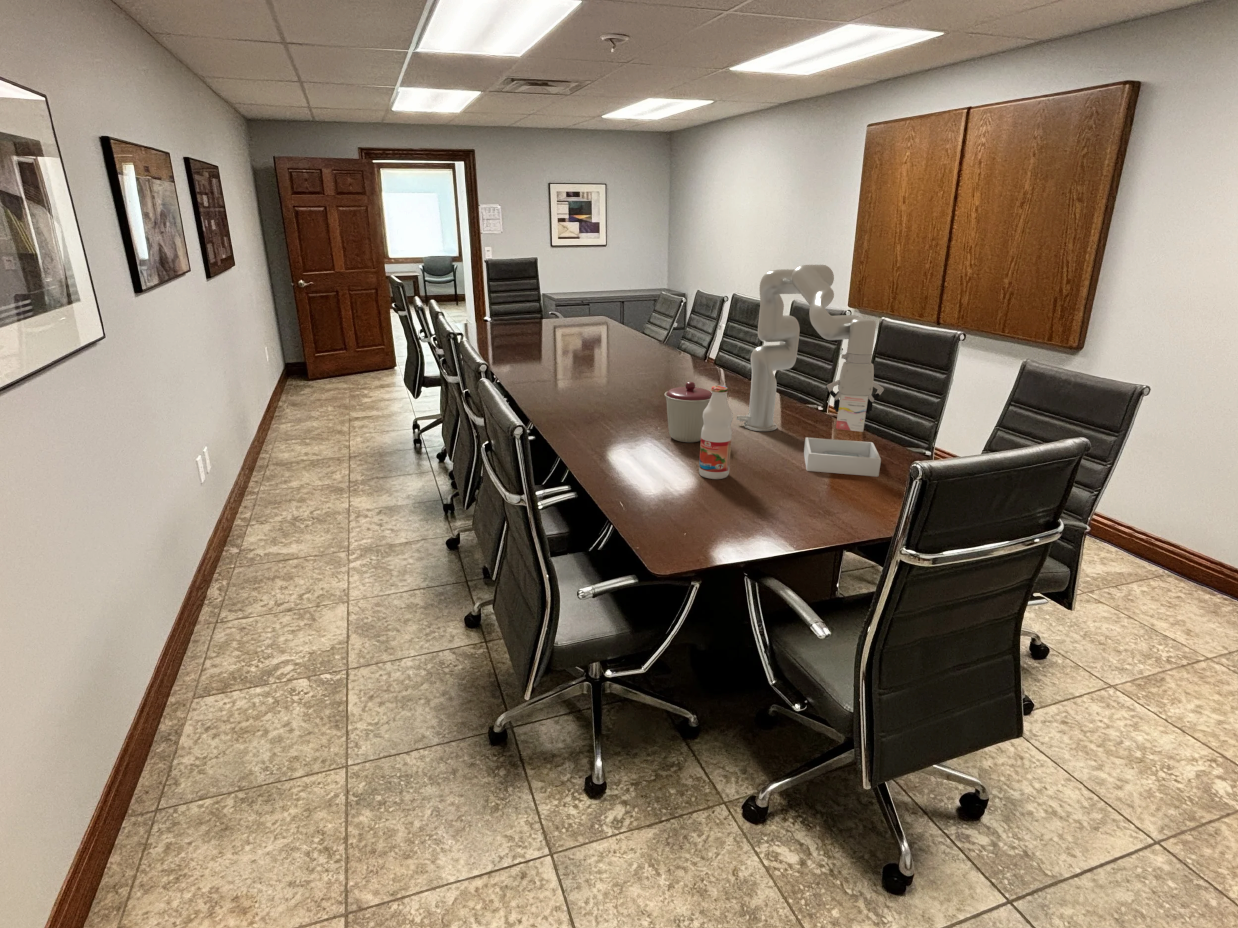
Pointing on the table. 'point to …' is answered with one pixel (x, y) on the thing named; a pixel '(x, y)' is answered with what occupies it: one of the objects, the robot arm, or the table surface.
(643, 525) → the table surface
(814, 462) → the tray
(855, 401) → the ink cartridge box
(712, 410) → the fruit juice
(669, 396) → the canister
